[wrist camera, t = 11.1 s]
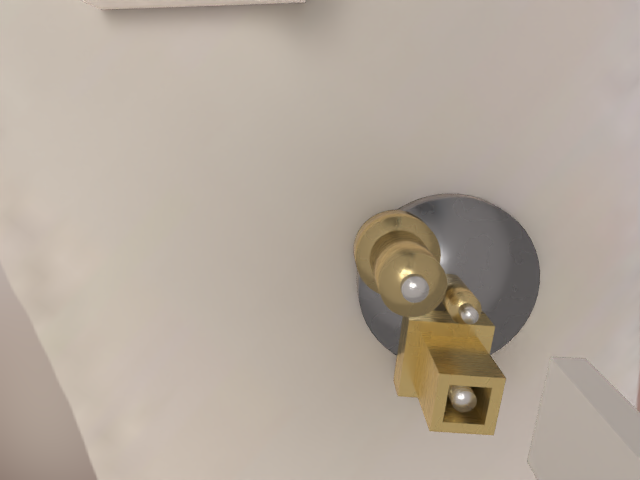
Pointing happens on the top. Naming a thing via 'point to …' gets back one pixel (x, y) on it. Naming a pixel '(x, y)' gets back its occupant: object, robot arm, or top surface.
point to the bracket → (176, 3)
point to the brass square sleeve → (449, 370)
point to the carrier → (446, 270)
